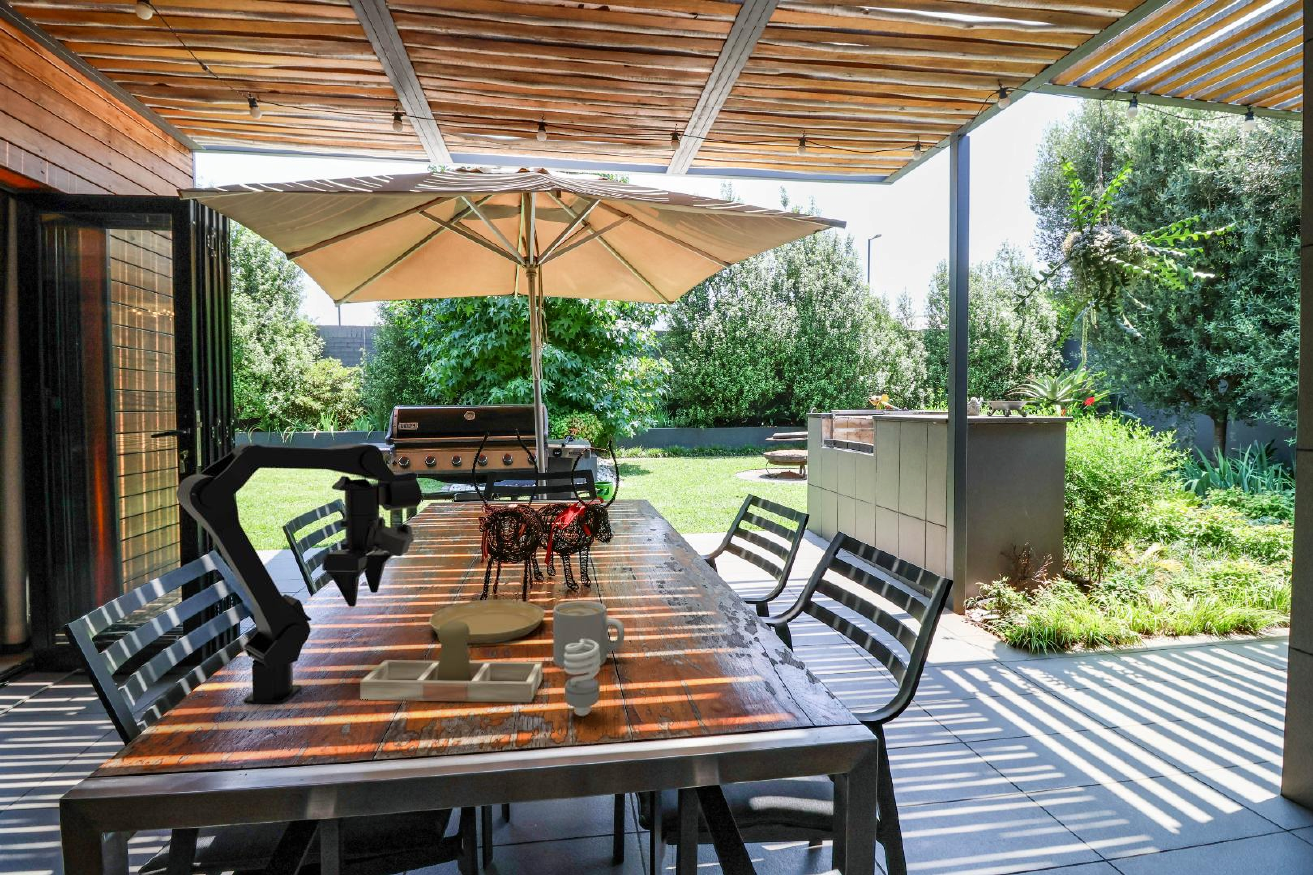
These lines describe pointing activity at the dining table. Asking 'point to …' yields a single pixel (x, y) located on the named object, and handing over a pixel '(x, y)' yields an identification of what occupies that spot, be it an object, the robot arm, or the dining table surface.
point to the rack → (452, 682)
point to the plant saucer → (491, 619)
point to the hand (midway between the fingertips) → (363, 599)
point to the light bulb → (586, 687)
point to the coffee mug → (583, 628)
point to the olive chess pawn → (454, 652)
